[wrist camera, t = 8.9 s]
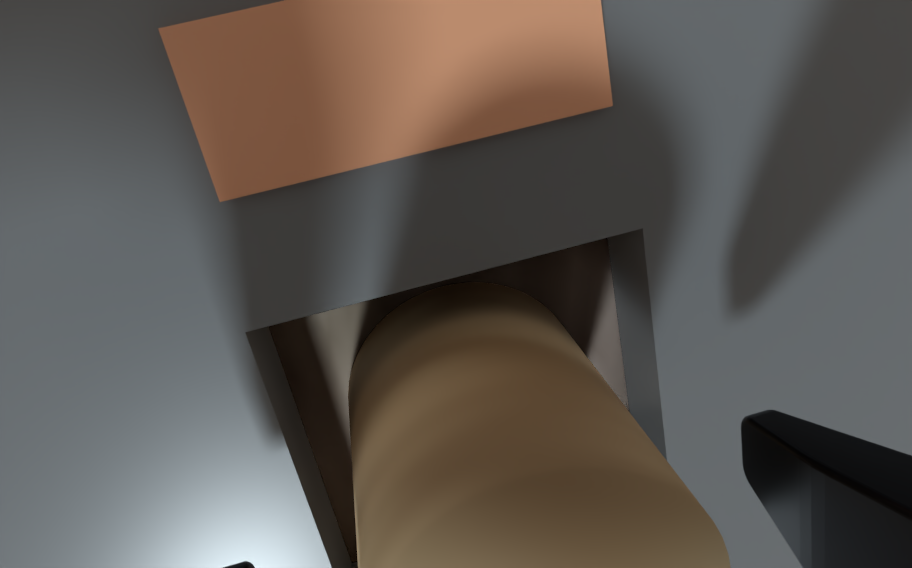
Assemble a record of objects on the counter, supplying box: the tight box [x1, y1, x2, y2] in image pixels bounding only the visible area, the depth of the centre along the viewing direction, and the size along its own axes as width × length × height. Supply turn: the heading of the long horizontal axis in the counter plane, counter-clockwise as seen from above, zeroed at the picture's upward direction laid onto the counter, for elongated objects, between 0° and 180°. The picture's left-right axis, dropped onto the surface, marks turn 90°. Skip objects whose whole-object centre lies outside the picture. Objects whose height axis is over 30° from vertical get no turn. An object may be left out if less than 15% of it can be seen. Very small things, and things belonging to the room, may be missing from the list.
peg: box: [348, 282, 731, 568], centre depth 10 cm, size 4×4×5 cm
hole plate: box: [0, 0, 912, 568], centre depth 11 cm, size 16×16×2 cm
